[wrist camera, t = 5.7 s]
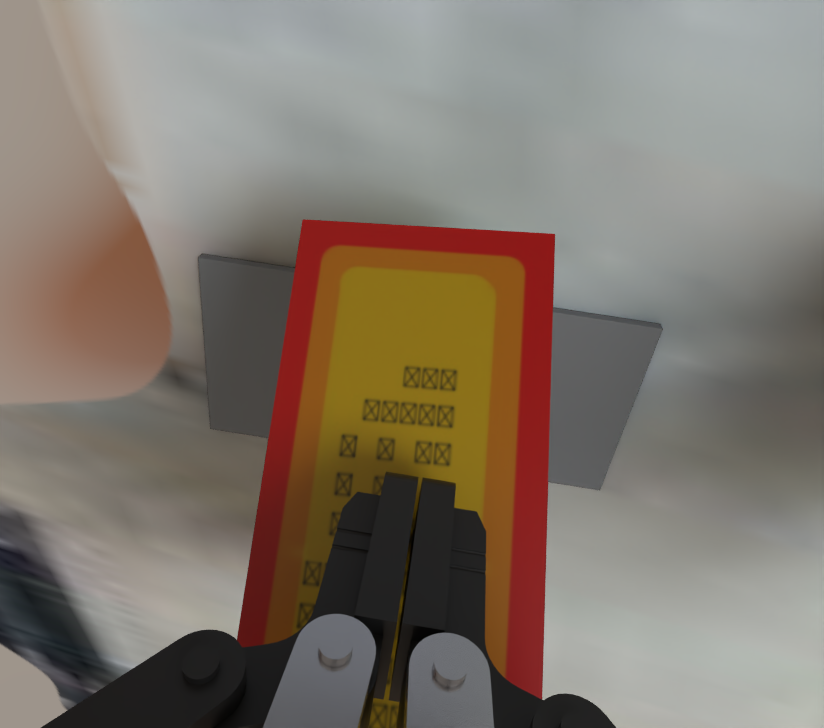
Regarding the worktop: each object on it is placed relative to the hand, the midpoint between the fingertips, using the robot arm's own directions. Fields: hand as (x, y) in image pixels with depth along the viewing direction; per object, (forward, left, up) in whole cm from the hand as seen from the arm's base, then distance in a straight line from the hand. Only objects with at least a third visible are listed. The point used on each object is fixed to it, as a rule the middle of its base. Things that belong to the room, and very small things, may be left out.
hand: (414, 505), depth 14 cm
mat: (+5, 0, -12) cm, 13 cm away
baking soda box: (-1, 0, -9) cm, 9 cm away
